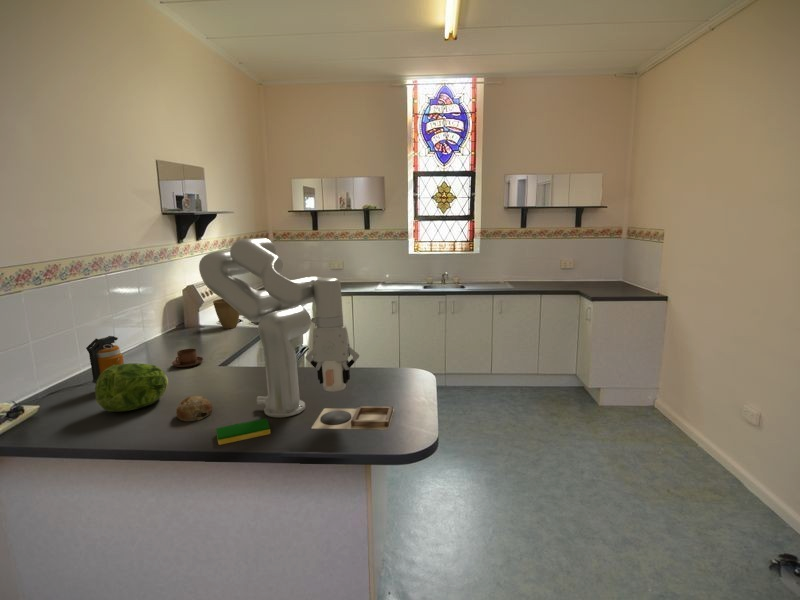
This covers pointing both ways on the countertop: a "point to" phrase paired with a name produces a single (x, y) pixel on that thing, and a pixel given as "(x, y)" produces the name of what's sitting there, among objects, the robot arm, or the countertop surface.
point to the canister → (103, 355)
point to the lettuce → (130, 386)
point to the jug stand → (355, 418)
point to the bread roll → (194, 408)
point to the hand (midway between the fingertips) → (334, 381)
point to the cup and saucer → (187, 358)
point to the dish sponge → (242, 431)
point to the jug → (333, 376)
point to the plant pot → (226, 314)
